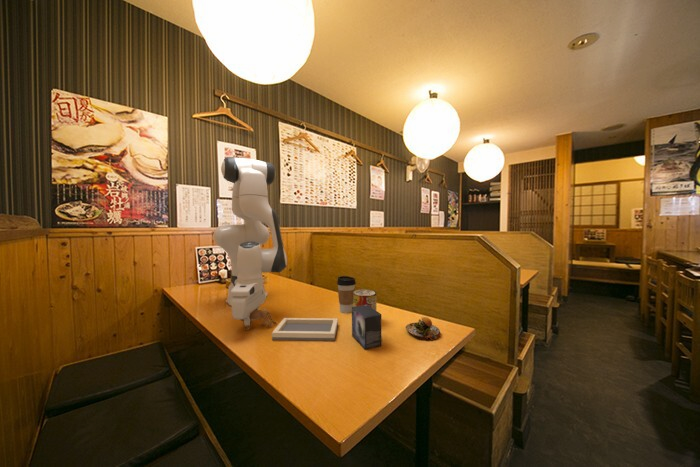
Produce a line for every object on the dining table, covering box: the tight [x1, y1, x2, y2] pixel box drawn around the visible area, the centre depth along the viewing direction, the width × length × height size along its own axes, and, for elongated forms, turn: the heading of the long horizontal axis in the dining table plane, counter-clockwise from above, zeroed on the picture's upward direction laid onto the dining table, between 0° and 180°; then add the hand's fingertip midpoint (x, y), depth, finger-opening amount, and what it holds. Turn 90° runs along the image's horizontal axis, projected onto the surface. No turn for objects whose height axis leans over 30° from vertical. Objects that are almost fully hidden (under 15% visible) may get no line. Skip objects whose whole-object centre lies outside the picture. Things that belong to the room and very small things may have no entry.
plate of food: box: [405, 316, 441, 342], centre depth 87 cm, size 12×12×8 cm
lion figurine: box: [240, 308, 277, 330], centre depth 93 cm, size 15×5×9 cm, turn 109°
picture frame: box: [271, 317, 339, 342], centre depth 88 cm, size 13×21×2 cm, turn 88°
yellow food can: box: [353, 289, 377, 311], centre depth 96 cm, size 9×9×12 cm
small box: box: [351, 304, 383, 351], centre depth 81 cm, size 11×6×10 cm, turn 23°
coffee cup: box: [336, 275, 357, 314], centre depth 109 cm, size 8×8×15 cm
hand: (251, 321), depth 92 cm, fingers closed on lion figurine, 4 cm apart
